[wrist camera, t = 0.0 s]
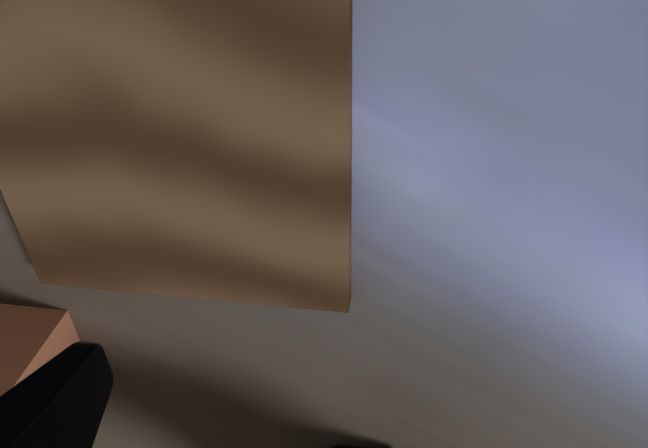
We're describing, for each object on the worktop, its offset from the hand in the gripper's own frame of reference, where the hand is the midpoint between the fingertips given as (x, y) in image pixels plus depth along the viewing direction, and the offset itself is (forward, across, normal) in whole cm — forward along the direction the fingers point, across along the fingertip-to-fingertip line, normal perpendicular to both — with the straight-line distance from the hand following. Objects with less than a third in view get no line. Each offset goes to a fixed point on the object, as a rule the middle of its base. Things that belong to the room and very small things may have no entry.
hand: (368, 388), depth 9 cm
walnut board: (+15, +10, +4) cm, 18 cm away
